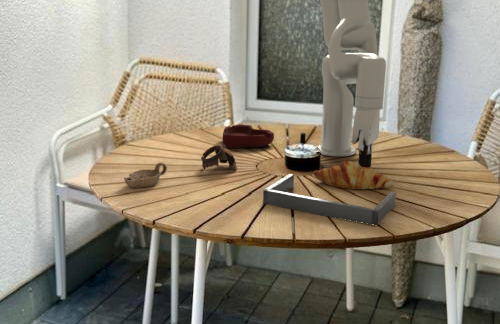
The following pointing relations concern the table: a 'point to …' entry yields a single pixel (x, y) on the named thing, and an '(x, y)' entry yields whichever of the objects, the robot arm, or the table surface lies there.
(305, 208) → the bent metal bracket
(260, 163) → the table surface
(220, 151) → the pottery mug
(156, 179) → the oil lamp
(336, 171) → the croissant
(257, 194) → the table surface
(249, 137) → the ashtray
